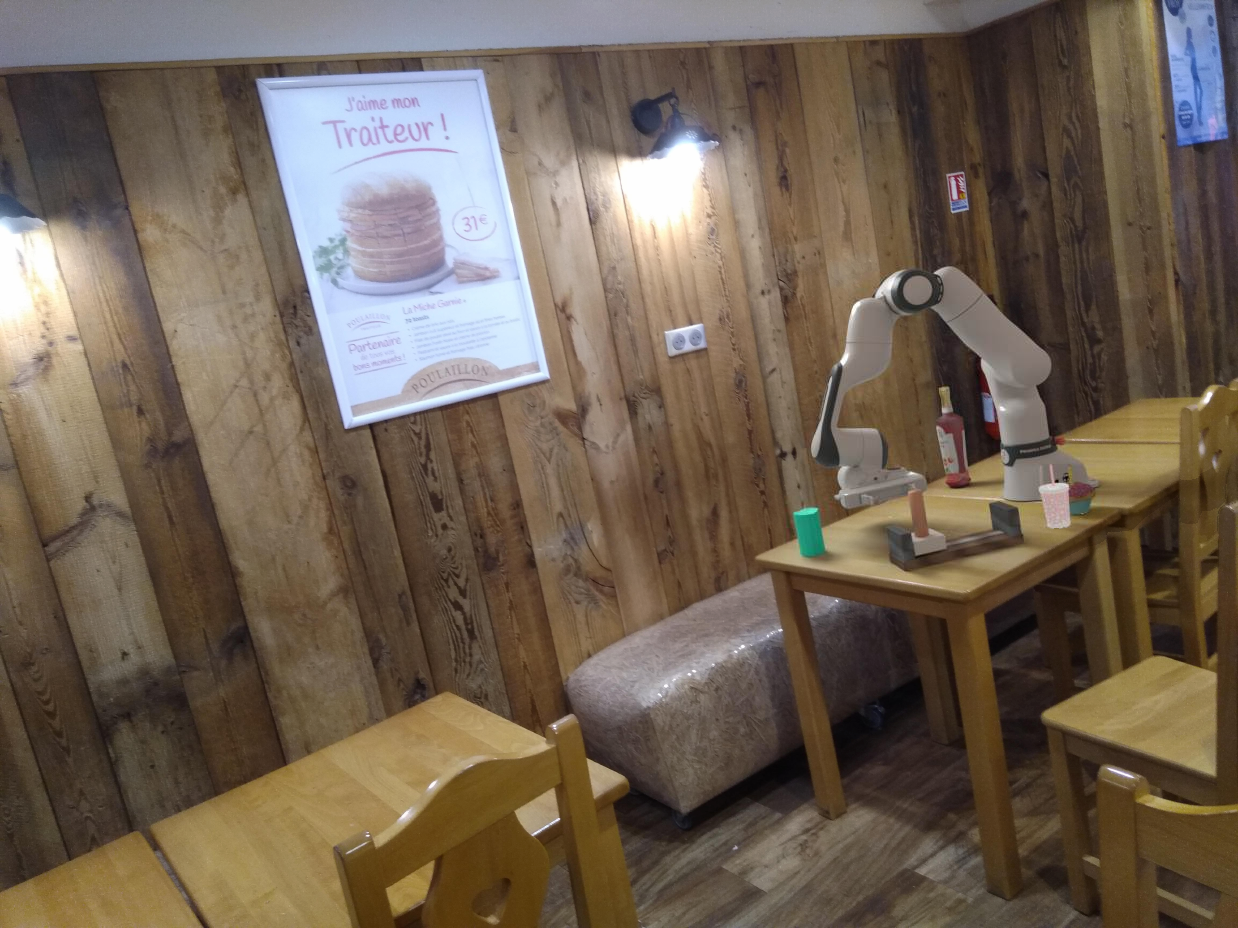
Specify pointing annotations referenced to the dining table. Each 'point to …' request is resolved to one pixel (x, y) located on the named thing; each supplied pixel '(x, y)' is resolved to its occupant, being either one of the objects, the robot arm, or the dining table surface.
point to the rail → (959, 540)
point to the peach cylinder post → (923, 527)
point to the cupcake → (1079, 495)
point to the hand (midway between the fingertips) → (894, 496)
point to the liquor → (952, 443)
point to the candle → (809, 532)
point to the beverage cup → (1056, 503)
